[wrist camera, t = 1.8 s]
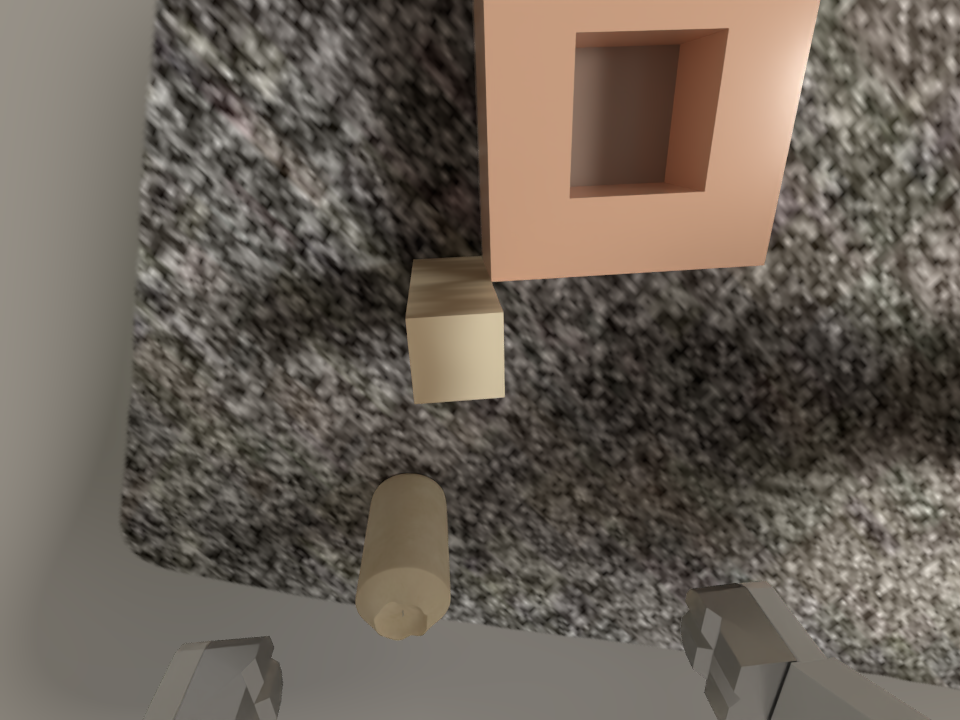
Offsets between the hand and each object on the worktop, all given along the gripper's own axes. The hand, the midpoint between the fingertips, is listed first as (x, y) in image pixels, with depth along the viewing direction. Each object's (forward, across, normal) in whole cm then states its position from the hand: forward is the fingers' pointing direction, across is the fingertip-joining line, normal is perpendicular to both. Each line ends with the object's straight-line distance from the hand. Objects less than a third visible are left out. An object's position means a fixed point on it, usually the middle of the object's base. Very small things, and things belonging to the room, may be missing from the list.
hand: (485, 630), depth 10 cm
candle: (+23, +4, +16) cm, 28 cm away
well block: (+22, -9, -9) cm, 26 cm away
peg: (+23, 0, 0) cm, 23 cm away
